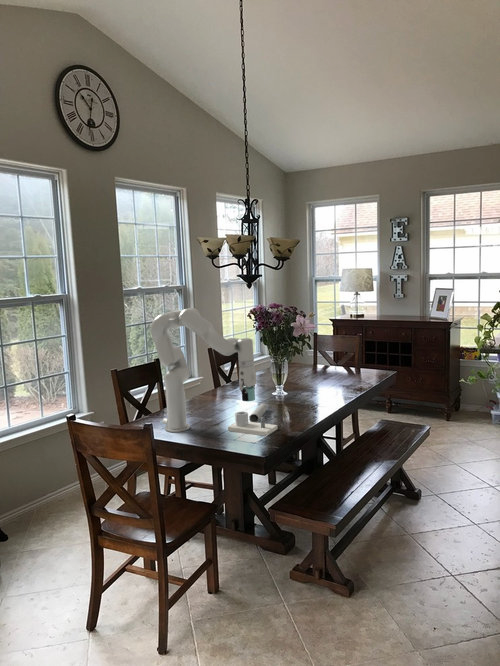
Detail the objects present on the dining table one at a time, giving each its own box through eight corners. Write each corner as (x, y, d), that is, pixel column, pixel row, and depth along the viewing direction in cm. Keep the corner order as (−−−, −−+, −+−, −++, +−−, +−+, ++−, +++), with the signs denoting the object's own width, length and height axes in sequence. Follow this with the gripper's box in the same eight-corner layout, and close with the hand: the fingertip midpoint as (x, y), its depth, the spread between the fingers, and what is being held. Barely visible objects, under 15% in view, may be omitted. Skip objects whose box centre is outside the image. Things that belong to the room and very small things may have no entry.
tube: (258, 403, 310) (247, 415, 286) (266, 400, 308) (256, 412, 284) (261, 412, 310) (251, 424, 286) (269, 409, 309) (260, 422, 284)
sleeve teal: (240, 400, 268) (239, 389, 268) (246, 397, 274) (245, 386, 273) (251, 401, 265) (250, 389, 265) (256, 398, 271) (256, 386, 270)
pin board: (227, 430, 274) (227, 417, 273) (239, 424, 284) (238, 411, 283) (266, 436, 263) (266, 422, 262) (277, 429, 274) (276, 415, 273)
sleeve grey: (233, 425, 275) (233, 414, 274) (239, 422, 280) (239, 411, 279) (244, 427, 272) (243, 415, 271) (250, 423, 277) (249, 412, 277)
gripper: (244, 367, 258) (246, 404, 260) (261, 360, 273) (263, 395, 275) (230, 366, 262) (233, 402, 264) (248, 360, 277) (250, 394, 279)
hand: (248, 398), depth 269 cm, fingers closed on sleeve teal, 6 cm apart
